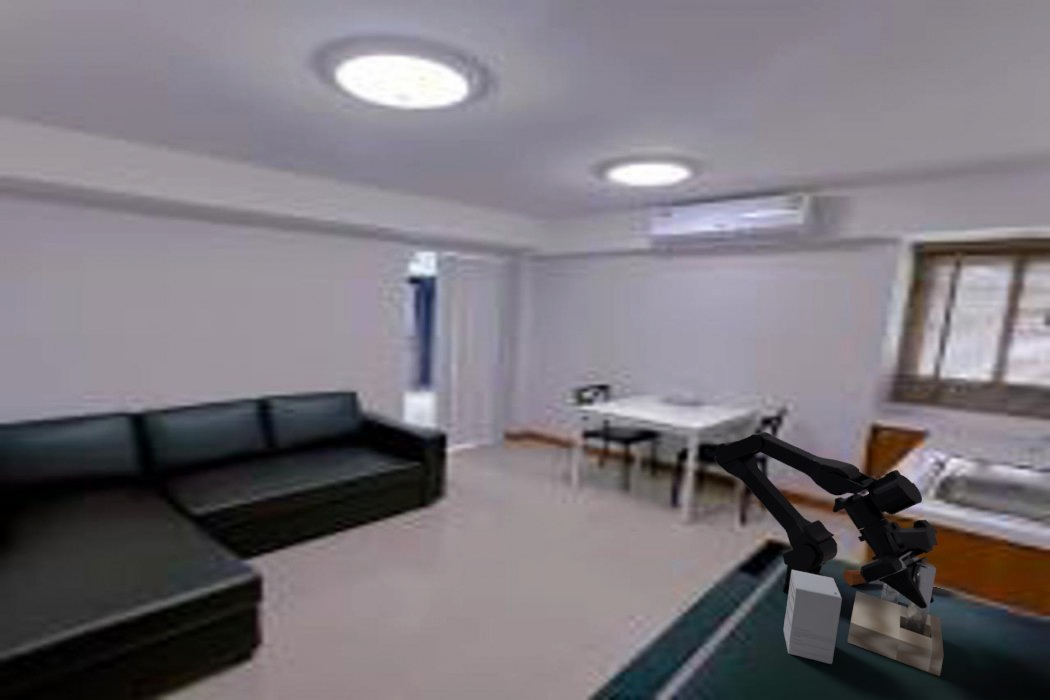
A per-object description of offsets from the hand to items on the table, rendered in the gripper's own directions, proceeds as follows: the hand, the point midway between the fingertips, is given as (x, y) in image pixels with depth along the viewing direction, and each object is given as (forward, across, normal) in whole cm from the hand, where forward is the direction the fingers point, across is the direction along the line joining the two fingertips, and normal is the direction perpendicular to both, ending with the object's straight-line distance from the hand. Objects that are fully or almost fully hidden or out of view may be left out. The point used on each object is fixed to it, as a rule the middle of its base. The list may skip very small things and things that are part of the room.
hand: (928, 605), depth 103 cm
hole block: (+3, -1, +9) cm, 10 cm away
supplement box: (-2, -18, +15) cm, 24 cm away
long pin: (+4, 0, +6) cm, 7 cm away
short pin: (-1, +14, +14) cm, 19 cm away
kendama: (-3, +22, +16) cm, 28 cm away
